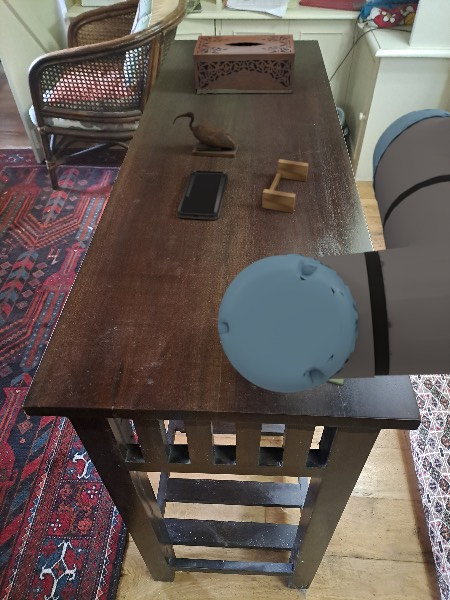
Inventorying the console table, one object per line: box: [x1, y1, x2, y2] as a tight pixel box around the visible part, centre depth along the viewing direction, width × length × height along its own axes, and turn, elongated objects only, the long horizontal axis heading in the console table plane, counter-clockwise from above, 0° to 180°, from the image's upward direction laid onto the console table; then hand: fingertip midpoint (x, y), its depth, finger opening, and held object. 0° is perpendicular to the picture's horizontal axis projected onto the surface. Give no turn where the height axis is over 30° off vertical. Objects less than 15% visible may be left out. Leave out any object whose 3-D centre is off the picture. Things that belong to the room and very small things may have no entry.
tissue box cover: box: [192, 33, 296, 91], centre depth 124 cm, size 26×14×10 cm, turn 87°
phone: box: [177, 169, 229, 221], centre depth 90 cm, size 8×1×15 cm
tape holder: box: [261, 158, 309, 214], centre depth 89 cm, size 6×12×4 cm, turn 161°
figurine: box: [172, 111, 239, 158], centre depth 100 cm, size 14×4×9 cm, turn 80°
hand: (320, 308), depth 59 cm, fingers open, 13 cm apart
